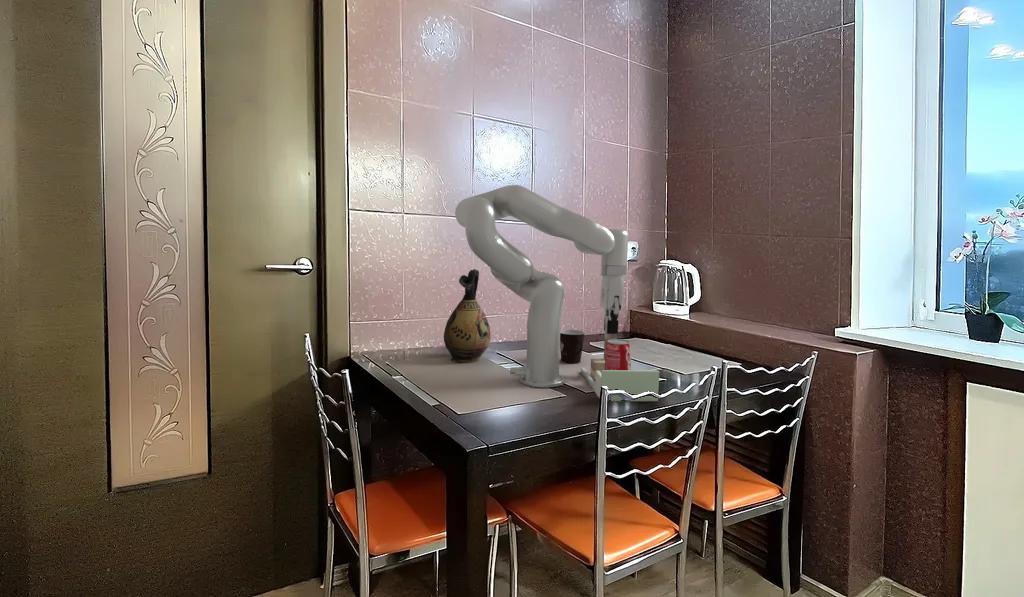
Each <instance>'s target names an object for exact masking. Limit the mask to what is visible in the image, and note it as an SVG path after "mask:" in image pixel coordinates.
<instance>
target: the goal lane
mask: <svg viewBox="0 0 1024 597" xmlns="http://www.w3.org/2000/svg"><path fill="white" fill-rule="evenodd" d="M580 372H581V373H582V375H583V377H584V378H585V379H586V381H587V380H588V381H587V383H588V384H589V383H590V384H589V386H590V387H591V386H592V387H591V388H592V390H593V391H594V393H595V394H596V396H597V398H599V395H600V387H601V386H607V387H608V388H609V389H612V390H615V389H618V390H624V391H626V392H627V393H630V394H640V393H643V392H648V391H649V392H654V393H656V394H658V395H659V386H660V384H659V383H660V371H659V370H650V369H649V370H640V369H638V370H636V369H635V370H634V369H633V370H632V369H631V370H602V373H601V372H600V371H596V379H593V378H592V376H591V375H590V372H588V370H587V369H586V368H585V367H581V370H580ZM621 400H622V398H621V397H619V396H613V397H612V398H611V401H610V402H622V401H621ZM658 400H659V397H658V398H655V397H653V396H645V397H641V398H638V399H636V400H630V401H629V402H658Z"/></svg>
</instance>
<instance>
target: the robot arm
mask: <svg viewBox="0 0 1024 597" xmlns="http://www.w3.org/2000/svg"><path fill="white" fill-rule="evenodd" d="M454 216H455V220H456V222H457V223H458V224H459V225H460V226H462V227H463V228H465V237H466V240H467V244H468V246H469V248H470V250H471V251H472V253H473V254H474V255H475V256H476V257H477V258H478V259H480V261H481V262H483V263H484V264H485V265H487V266H488V267H489V269H490V272H491V274H492V276H493V277H494V279H496V280H497V281H499V283H501V285H503V286H504V287H506V288H507V289H509V291H511V292H513V293H514V294H516V295H517V296H519V297H520V298H521V299H523V300H524V301H526V302H528V303H530V304H529V308H528V313H527V320H526V321H527V322H526V356H525V357H526V363H525V364H524V366H520V367H509V368H510V370H509V372H510V373H509V374H510V375H514V376H518V377H520V382H521V383H522V384H524V385H526V386H529V387H533V388H544V389H545V388H556V387H560V386H562V385H563V384H564V383H565V378H564V377H563V376H562V375H560V357H561V352H560V330H561V323H562V322H561V321H562V311H563V304H564V301H565V300H564V299H565V285H564V284H563V282H562V280H561V279H560V278H559V277H558V276H556V275H554V274H552V273H550V272H545V271H541V270H540V271H539V270H537V269H536V268H535V267H534V264H533V261H532V260H531V259H530V257H529V256H528V255H527V254H525V253H523V252H522V251H521V250H519V249H518V248H517V247H516V246H514V245H513V244H511V243H510V242H509V241H508V240H507V239H505V238H504V237H503V236H502V235H501V234H500V233H499V232H498V229H497V227H496V221H498V220H501V219H504V218H506V217H512V218H515V219H517V220H518V221H520V222H523V223H524V224H527V225H528V226H530V227H532V228H534V229H535V230H538V231H539V232H542V233H544V234H545V235H549V236H552V237H555V238H559V239H565V240H568V241H571V242H573V244H574V247H575V248H576V249H577V250H578V251H579V252H580V253H582V254H586V255H587V254H588V255H596V256H600V258H601V259H600V260H601V261H600V277H602V278H601V286H600V297H599V306H600V307H601V308H602V309H604V322H603V324H604V325H603V331H604V332H605V316H609V320H607V333H608V334H617V335H618V334H619V320H620V318H619V317H620V316H619V315H620V311H622V310H623V307H624V278H626V277H627V273H628V272H627V270H628V269H627V268H628V266H627V265H628V252H629V251H628V250H629V249H628V247H629V246H628V245H629V233H628V231H627V230H625V229H619V228H618V229H617V228H607V227H605V226H603V225H602V224H599V223H598V222H596V221H594V220H592V219H590V218H588V217H586V216H583V215H581V214H578V213H576V212H574V211H572V210H570V209H568V208H565V207H562V206H561V205H559V204H557V203H554V202H553V201H551V200H549V199H547V198H545V197H543V196H541V195H539V194H537V193H536V192H534V191H532V190H531V189H529V188H527V187H525V186H522V185H519V184H518V185H517V184H511V185H506V186H501V187H498V188H496V189H493V190H490V191H487V192H483V193H479V194H477V195H472V196H470V197H467V198H464V199H462V200H461V201H459V202H458V204H457V205H456V208H455V211H454Z"/></svg>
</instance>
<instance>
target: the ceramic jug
mask: <svg viewBox="0 0 1024 597" xmlns="http://www.w3.org/2000/svg"><path fill="white" fill-rule="evenodd" d="M479 279H480V271H479V270H478V269H470V270H469V271H468V273H467V275H466V274H463V275H461V276H460V277H459V280H458V283H459V284H460V286H462V287H463V288H464V295H463V297H462V299H461V300H460V301H459V303H458V304H457V305H456V307H455V308H454V310H453V311H452V312H451V314H450V316H449V317H448V319H447V321H446V324H445V328H444V331H443V342H444V346H445V348H446V350H447V351H448V353H449V354H450V356H451V361H453V362H455V363H459V364H460V363H475V362H476V363H477V362H478V361H479V360H480V358H481V357H482V356H483V354H484V353H485V352H486V351H487V349H488V348H489V345H490V343H491V336H492V334H491V327H490V326H491V325H490V323H489V320H488V318H487V317H486V314H485V313H484V311H483V308H482V307H481V306H480V304H479V302H478V301H477V291H478V285H479Z"/></svg>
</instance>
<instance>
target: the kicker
mask: <svg viewBox="0 0 1024 597" xmlns="http://www.w3.org/2000/svg"><path fill="white" fill-rule="evenodd" d="M604 318H605V331H604V338H603V339H604V341H603V358H590V368H589V370H590V372H589V375H590V376H591V378H592V379H593V380H596V371H600V372H601V373H602V370H605V350H606V345H607V343H608V342H607V341H608V340H611V339H618V333H617V334H608V333H607V320H609V316H605V315H604ZM631 367H632V362H631V363H630V370H632V368H631Z"/></svg>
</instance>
